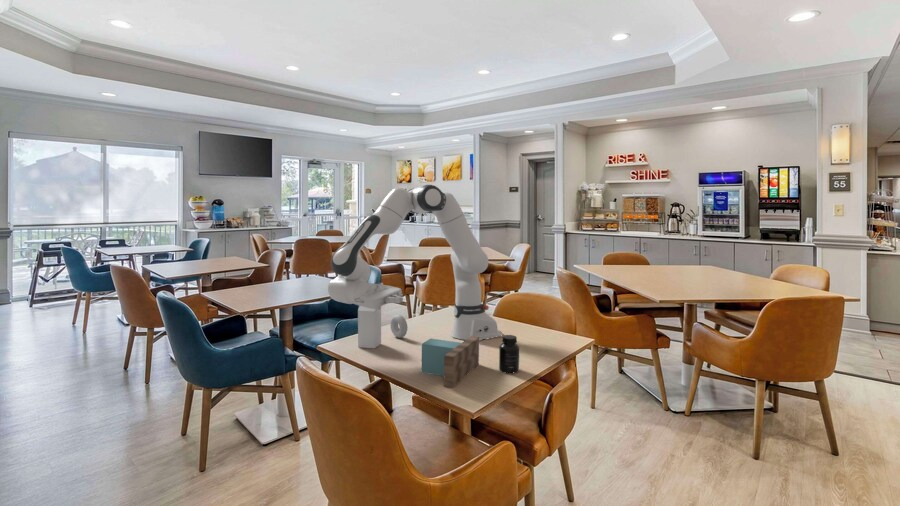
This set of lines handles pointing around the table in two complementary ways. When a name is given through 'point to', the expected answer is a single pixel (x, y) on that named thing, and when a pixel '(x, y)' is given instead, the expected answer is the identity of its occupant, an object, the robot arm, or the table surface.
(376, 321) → the milk carton
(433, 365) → the teal block
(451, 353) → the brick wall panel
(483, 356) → the table surface
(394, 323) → the donut
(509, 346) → the supplement bottle
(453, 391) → the table surface
